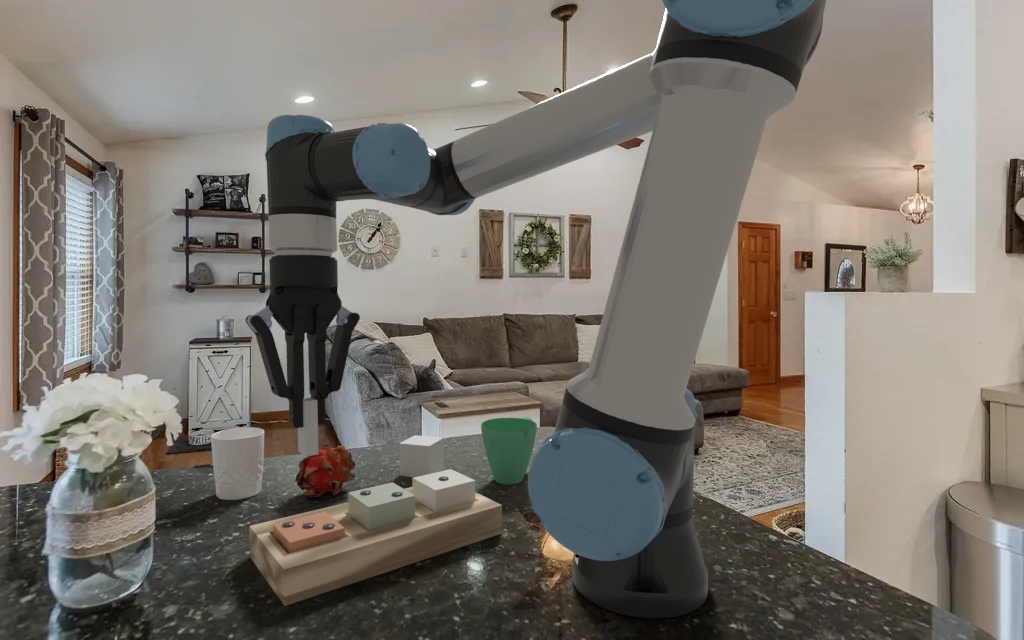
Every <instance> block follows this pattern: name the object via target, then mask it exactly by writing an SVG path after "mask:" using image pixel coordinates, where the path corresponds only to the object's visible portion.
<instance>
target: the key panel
mask: <svg viewBox="0 0 1024 640" xmlns="http://www.w3.org/2000/svg"><path fill="white" fill-rule="evenodd" d="M404 489H405V490H406V491H408V492H410V493H411V494H413V486H410V487H407V488H404ZM321 512H326V513H328V514H329V515H330V516H331V517H332V518H333V519H335V520H336V521H337V522H338V523H339V524H341V525H342V526H343V527H344V528H345V538H342V539H339V540H335V541H332V542H328V543H324V544H321V545H317V546H314V547H310V548H306V549H303V550H299V551H296V552H292V553H289V554H287V553H286V551H285V550H284V549H283V548H282V547H281V546H280V544H279V543H278V542H277V541H276V540H275V539H274V537H273V524H276V523H280V522H284V521H288V520H292V519H296V518H301V517H305V516H309V515H313V514H317V513H321ZM502 526H503V505H502V504H500V503H499V502H496V501H494V500H492V499H490V498H488V497H487V496H484V495H482V494H480V493H478V492H476V491H475V502H471V503H468V504H464V505H460V506H457V507H453V508H450V509H446V510H442V511H439V512H433V511H431V510H430V509H428V508H426V507H425V506H423V505H421V504H420V503H418V502H416V501H415V518H414V519H410V520H407V521H403V522H400V523H396V524H392V525H389V526H385V527H382V528H378V529H374V530H371V531H366V530H365V529H364V528H362V527H361V526H360V525H359V524H357V523H356V522H355V521H354V520H352V519H351V518H350V517H349V516H348V501H347V502H344V503H339V504H336V505H331V506H327V507H323V508H319V509H315V510H314V509H313V510H310V511H306V512H301V513H298V514H297V513H296V514H294V515H288V516H286V517H281V518H277V519H272V520H268V521H264V522H260V523H257V524H252V525H249V558H250V559H251V561H252V562H253V563H254V565H255V566H256V567H257V569H258V570H259V572H260V573H261V574H262V576H263V577H264V578H263V579H265V580H266V581H267V583H268V585H269V586H270V588H271V589H272V591H273V592H274V594H275V595H276V596H277V597H278V598H279V600H280V601H281V603H282V605H283V606H284V607H285V606H286V607H287V606H289V605H292V604H295V603H298V602H301V601H304V600H307V599H310V598H313V597H317V596H320V595H323V594H325V593H328V592H331V591H334V590H337V589H340V588H343V587H346V586H348V585H352V584H355V583H358V582H361V581H365V580H368V579H370V578H373V577H376V576H379V575H382V574H385V573H388V572H391V571H394V570H397V569H400V568H403V567H406V566H409V565H411V564H415V563H418V562H420V561H424V560H427V559H430V558H433V557H437V556H439V555H442V554H445V553H448V552H451V551H454V550H457V549H460V548H463V547H466V546H469V545H472V544H475V543H478V542H480V541H483V540H484V541H485V540H487V539H490V538H494V537H497V536H499V535H503V531H502V530H503V527H502Z"/></svg>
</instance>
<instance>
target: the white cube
mask: <svg viewBox="0 0 1024 640" xmlns="http://www.w3.org/2000/svg"><path fill="white" fill-rule="evenodd" d="M444 442H445V439H444V437H437V436H430V435H429V436H426V435H418V434H415V435H413V436H411V437H409V438H407V439H405V440H403V441H401V442H399V443H398V445H399V451H398V452H399V476H400V477H409V478H414V477H418V476H423V475H427V474H431V473H436V472H440V471H444V469H445V464H444V463H445V462H444V461H445V460H444V459H445V455H444V454H445V450H444V449H445V448H444V445H445V444H444Z"/></svg>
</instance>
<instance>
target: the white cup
mask: <svg viewBox="0 0 1024 640" xmlns="http://www.w3.org/2000/svg"><path fill="white" fill-rule="evenodd" d="M210 440H211V441H210V443H211V445H210V446H211V456H212V466H213V467H212V468H213V478H214V480H215V496H216V497H217V498H218V499H219V500H224V501H238V500H242V499H243V500H244V499H248V498H251V497H255V496H256V495H258V494H260V493H261V492H262V488H263V487H262V486H263V485H262V484H263V473H264V458H265V453H264V452H265V430H264V429H263V428H261V427H251V426H250V427H249V426H247V427H237V428H236V427H235V428H228V429H223V430H219V431H217V432H214V433H212V434H211V435H210Z"/></svg>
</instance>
